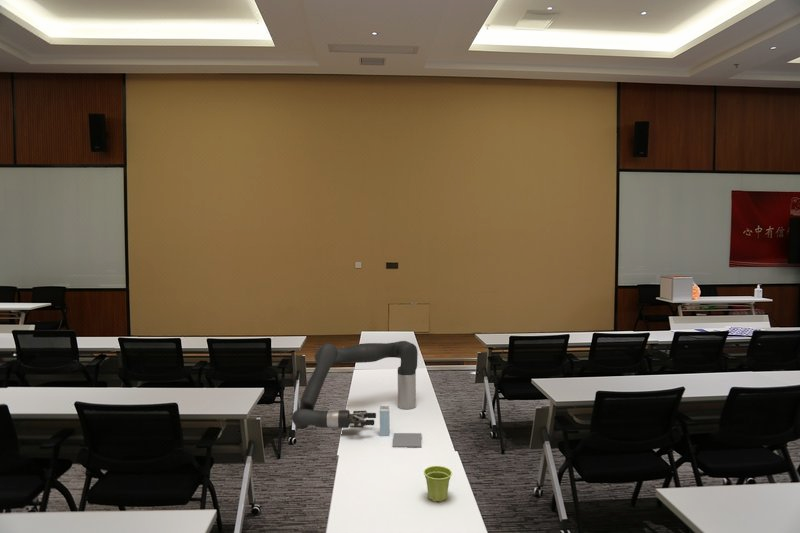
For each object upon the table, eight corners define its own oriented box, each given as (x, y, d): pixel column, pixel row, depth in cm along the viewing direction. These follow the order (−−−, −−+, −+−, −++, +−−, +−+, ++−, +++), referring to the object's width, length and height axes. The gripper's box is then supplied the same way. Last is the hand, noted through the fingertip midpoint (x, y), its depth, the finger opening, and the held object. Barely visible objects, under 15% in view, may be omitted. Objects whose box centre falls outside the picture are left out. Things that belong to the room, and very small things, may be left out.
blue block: (380, 432, 227) (380, 406, 226) (389, 432, 227) (389, 406, 226) (379, 436, 223) (379, 409, 222) (389, 436, 223) (388, 409, 222)
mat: (393, 434, 225) (393, 433, 225) (421, 434, 224) (421, 433, 224) (392, 447, 211) (392, 446, 211) (421, 447, 210) (421, 446, 210)
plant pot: (450, 490, 175) (450, 465, 175) (453, 504, 166) (453, 478, 165) (422, 490, 175) (422, 466, 174) (425, 505, 165) (424, 479, 165)
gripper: (335, 416, 218) (373, 416, 217) (340, 405, 232) (376, 405, 232) (336, 433, 218) (374, 433, 218) (341, 421, 233) (376, 421, 232)
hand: (375, 418), depth 225 cm, fingers open, 8 cm apart
